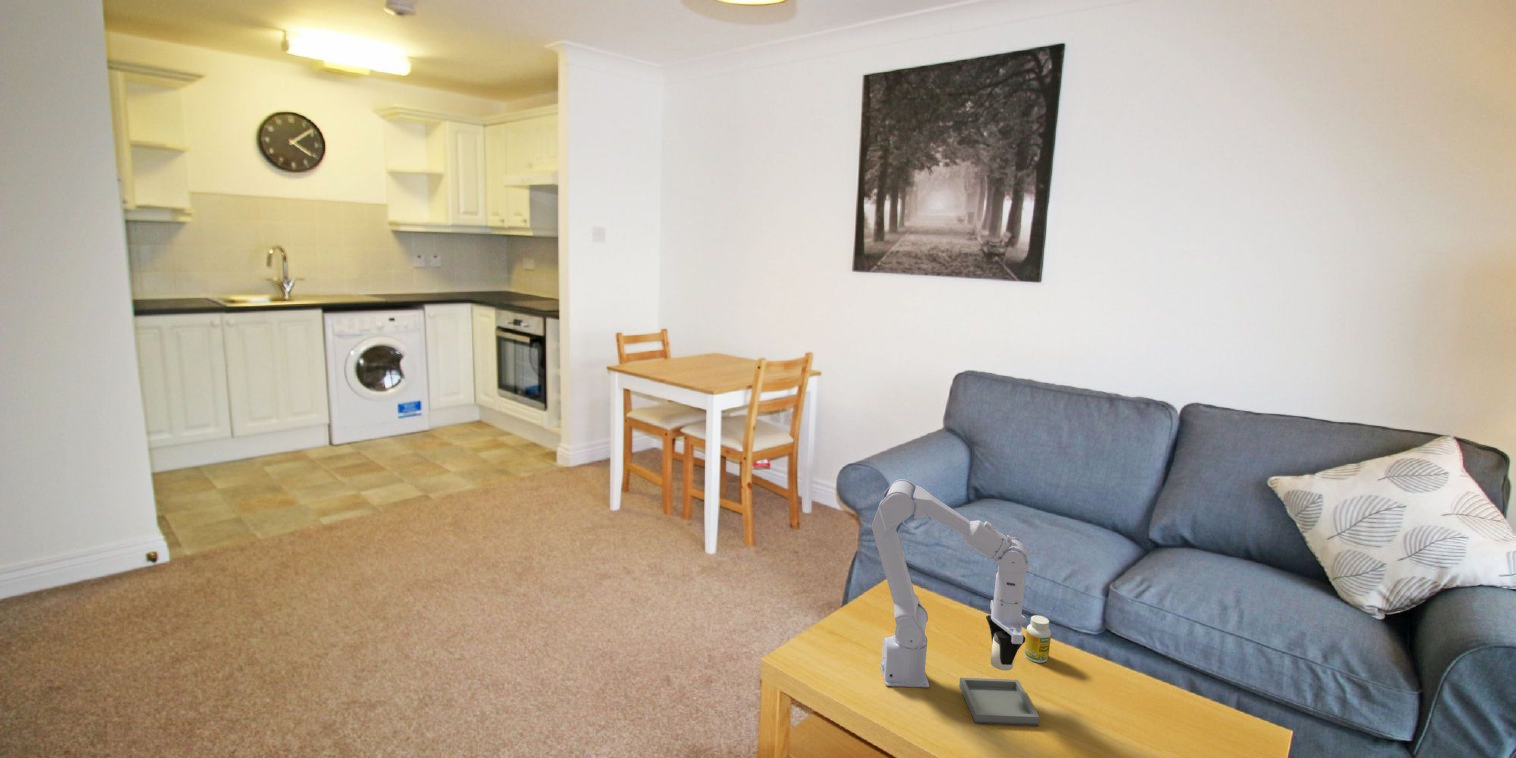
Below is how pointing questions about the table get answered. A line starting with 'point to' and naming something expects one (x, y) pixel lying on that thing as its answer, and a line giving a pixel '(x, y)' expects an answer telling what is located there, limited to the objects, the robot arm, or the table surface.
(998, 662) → the cylinder
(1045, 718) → the table surface
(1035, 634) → the supplement bottle
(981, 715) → the tray
